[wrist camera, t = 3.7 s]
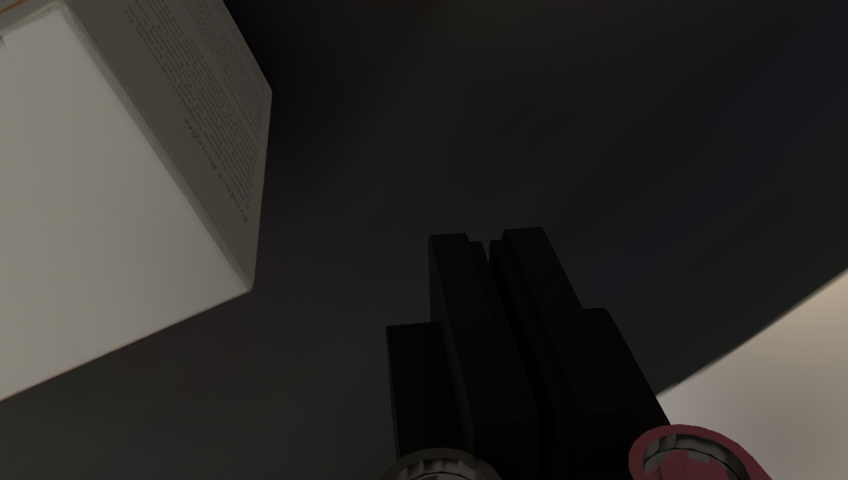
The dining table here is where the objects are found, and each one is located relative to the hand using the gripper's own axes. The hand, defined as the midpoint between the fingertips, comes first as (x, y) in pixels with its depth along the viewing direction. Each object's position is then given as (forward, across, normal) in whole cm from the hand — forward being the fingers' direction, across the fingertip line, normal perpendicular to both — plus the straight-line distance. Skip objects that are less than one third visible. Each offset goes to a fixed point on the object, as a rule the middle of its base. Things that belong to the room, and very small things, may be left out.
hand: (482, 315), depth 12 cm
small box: (+12, +8, -1) cm, 15 cm away
